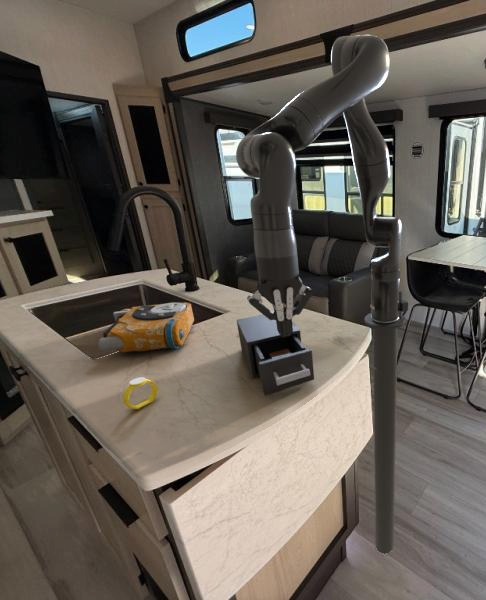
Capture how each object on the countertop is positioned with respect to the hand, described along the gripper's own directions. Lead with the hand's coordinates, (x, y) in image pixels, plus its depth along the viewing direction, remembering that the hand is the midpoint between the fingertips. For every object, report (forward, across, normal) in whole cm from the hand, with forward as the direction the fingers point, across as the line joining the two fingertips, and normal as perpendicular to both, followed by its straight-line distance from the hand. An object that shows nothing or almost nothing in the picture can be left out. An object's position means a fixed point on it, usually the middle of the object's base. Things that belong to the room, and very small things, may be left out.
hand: (285, 335), depth 66 cm
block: (+13, 0, +8) cm, 15 cm away
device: (+15, -28, +52) cm, 60 cm away
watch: (+15, -28, +14) cm, 35 cm away
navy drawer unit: (+15, 0, +20) cm, 25 cm away
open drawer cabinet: (+14, 0, +7) cm, 16 cm away
